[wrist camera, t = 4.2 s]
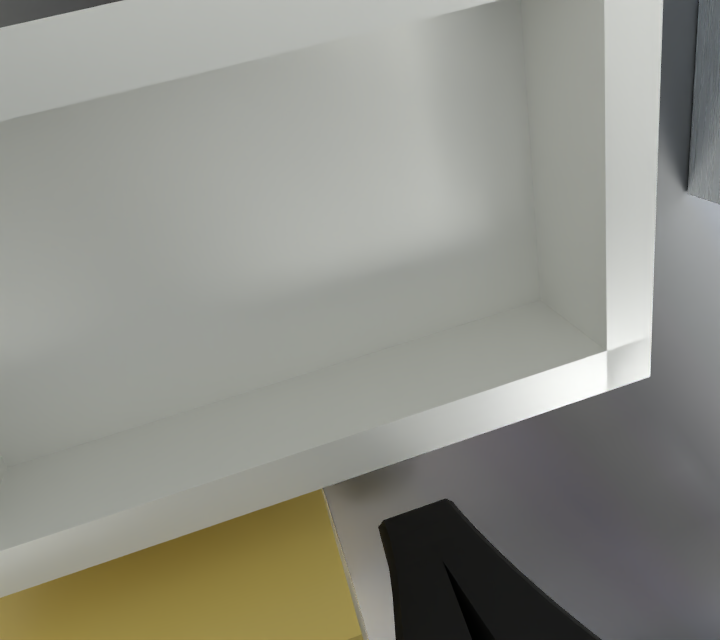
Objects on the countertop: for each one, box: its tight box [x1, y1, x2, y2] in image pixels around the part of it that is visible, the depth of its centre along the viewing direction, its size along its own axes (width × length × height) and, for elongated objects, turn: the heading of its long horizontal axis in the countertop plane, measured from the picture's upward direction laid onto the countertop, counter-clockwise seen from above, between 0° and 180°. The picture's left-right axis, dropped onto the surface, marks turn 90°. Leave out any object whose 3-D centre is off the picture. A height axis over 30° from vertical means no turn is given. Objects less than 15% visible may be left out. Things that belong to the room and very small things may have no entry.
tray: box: [0, 0, 663, 598], centre depth 8 cm, size 6×10×2 cm, turn 102°
